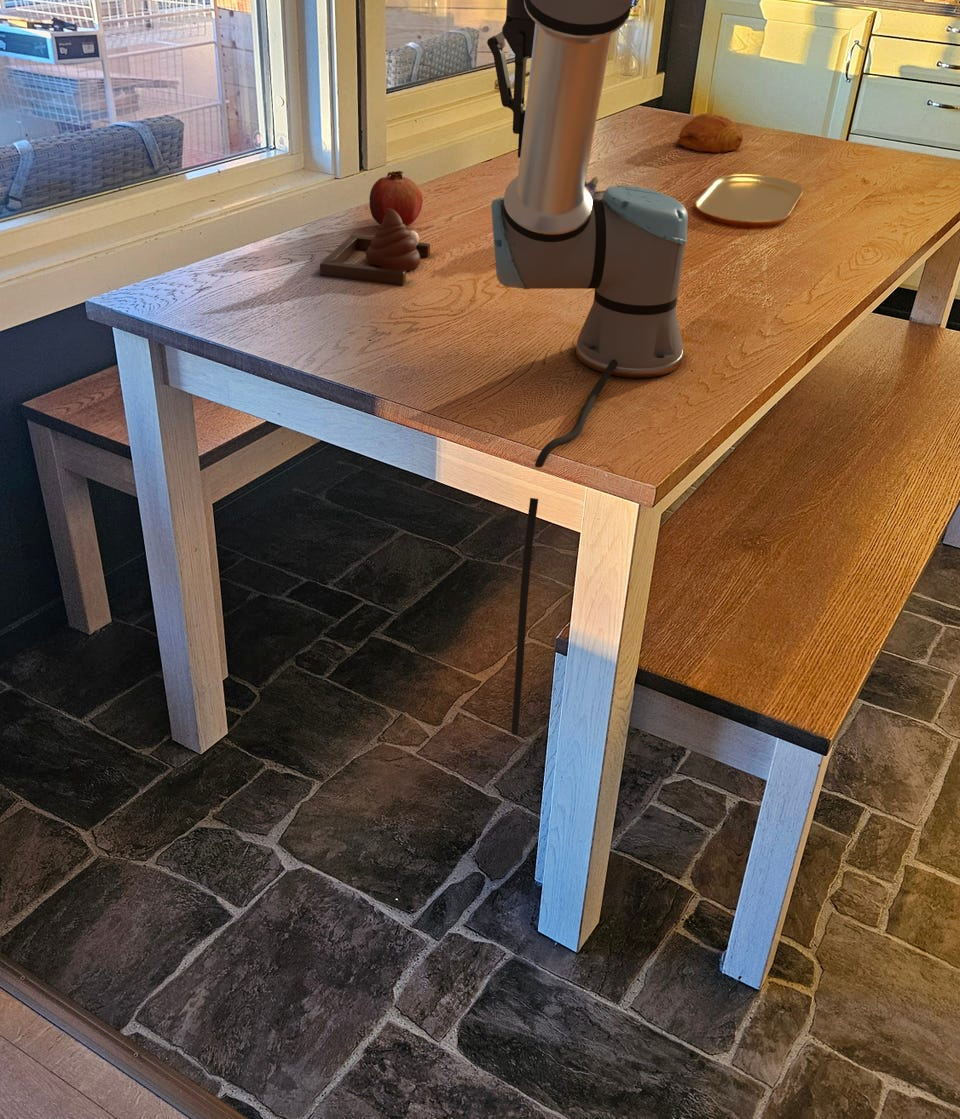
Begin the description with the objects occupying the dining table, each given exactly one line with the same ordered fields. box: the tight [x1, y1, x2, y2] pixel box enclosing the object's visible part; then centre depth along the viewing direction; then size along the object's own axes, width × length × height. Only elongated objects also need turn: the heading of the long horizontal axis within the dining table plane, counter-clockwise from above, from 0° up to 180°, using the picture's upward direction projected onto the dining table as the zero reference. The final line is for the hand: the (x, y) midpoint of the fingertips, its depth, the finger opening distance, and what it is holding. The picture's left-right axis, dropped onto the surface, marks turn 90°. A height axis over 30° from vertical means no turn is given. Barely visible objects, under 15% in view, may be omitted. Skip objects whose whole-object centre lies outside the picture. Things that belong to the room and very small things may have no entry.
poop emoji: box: [365, 208, 421, 272], centre depth 184 cm, size 10×8×9 cm
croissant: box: [677, 112, 743, 154], centre depth 261 cm, size 14×16×8 cm
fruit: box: [369, 170, 424, 227], centre depth 201 cm, size 11×10×10 cm
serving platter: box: [694, 173, 804, 228], centre depth 223 cm, size 19×35×2 cm, turn 157°
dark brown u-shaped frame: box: [319, 234, 431, 286], centre depth 186 cm, size 16×14×2 cm
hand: (524, 155), depth 170 cm, fingers closed
